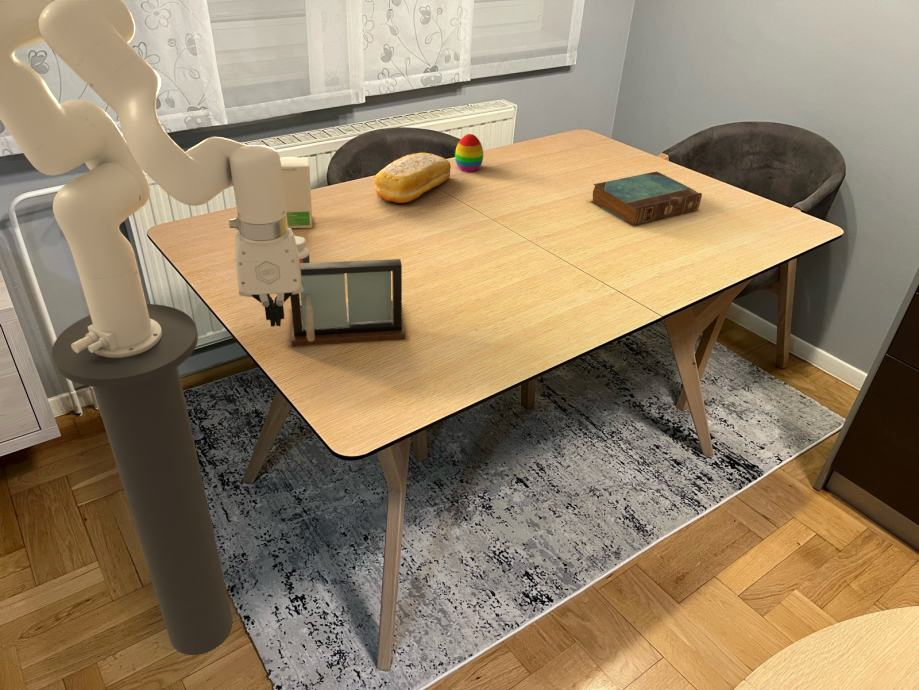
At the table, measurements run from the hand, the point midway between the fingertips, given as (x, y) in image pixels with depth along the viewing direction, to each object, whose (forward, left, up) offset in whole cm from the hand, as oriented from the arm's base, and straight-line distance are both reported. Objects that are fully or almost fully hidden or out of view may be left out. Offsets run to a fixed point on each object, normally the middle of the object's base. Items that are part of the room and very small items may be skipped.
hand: (276, 322), depth 126 cm
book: (+106, -35, -8) cm, 112 cm away
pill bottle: (+25, +16, -8) cm, 31 cm away
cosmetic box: (+46, +34, -8) cm, 58 cm away
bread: (+80, +23, -8) cm, 84 cm away
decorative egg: (+103, +17, -8) cm, 105 cm away
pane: (+7, -5, -5) cm, 10 cm away
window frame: (+16, -3, -8) cm, 18 cm away
